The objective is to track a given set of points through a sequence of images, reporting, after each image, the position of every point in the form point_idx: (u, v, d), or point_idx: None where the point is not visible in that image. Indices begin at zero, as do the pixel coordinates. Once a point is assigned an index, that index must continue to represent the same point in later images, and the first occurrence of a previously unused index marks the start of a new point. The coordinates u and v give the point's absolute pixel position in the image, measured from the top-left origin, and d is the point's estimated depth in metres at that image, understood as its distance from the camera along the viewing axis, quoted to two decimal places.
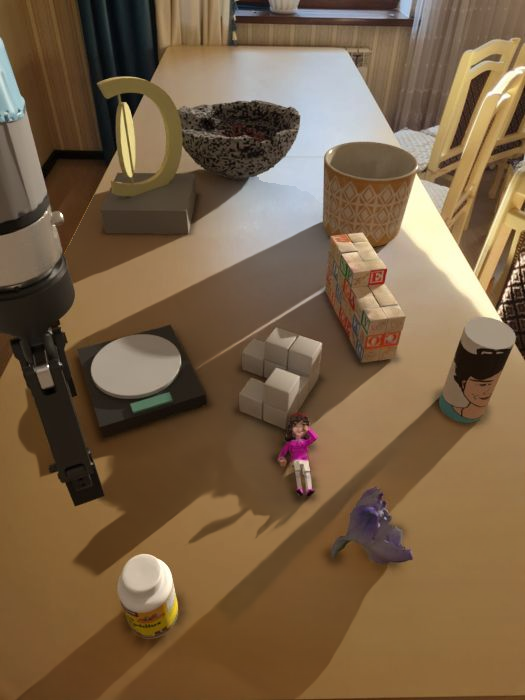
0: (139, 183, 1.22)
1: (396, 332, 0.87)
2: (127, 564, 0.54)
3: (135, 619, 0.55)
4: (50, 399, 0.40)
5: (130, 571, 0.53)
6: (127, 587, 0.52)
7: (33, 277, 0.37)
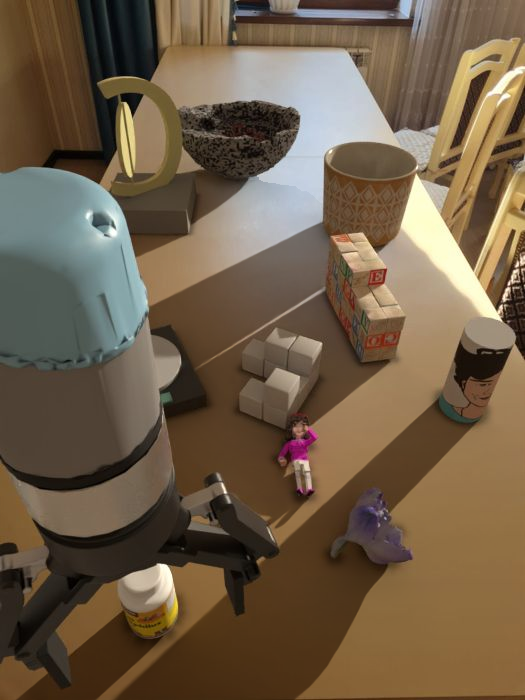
0: (139, 183, 1.22)
1: (396, 332, 0.87)
2: None
3: (135, 619, 0.55)
4: (235, 507, 0.35)
5: None
6: (127, 587, 0.52)
7: None
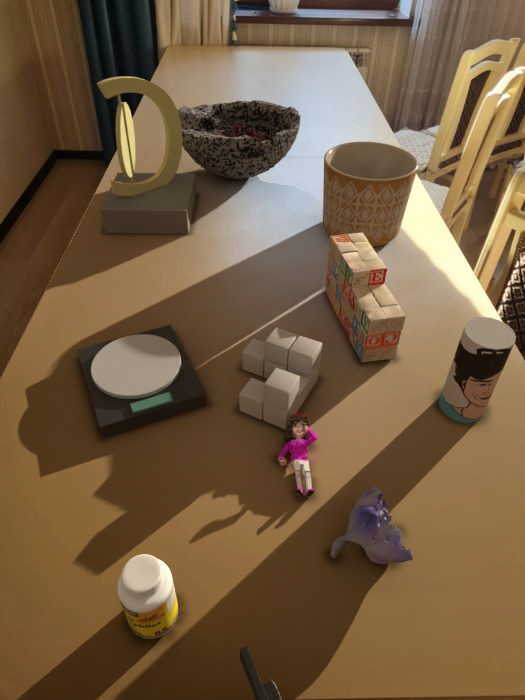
0: (139, 183, 1.22)
1: (396, 332, 0.87)
2: (127, 564, 0.54)
3: (135, 619, 0.55)
4: None
5: (130, 571, 0.53)
6: (127, 587, 0.52)
7: None
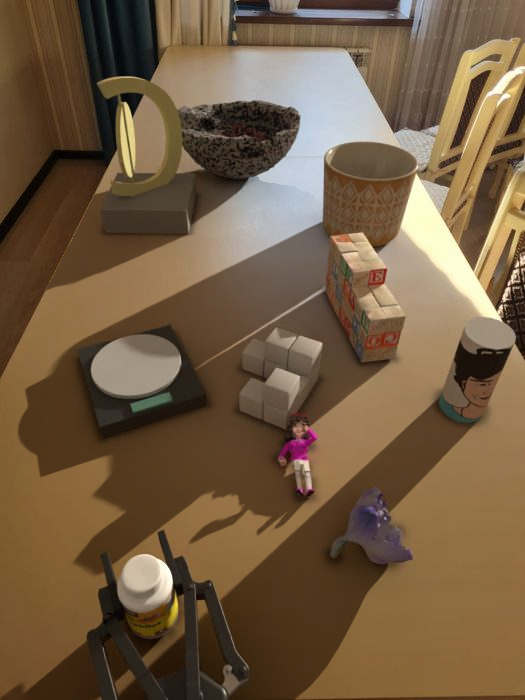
0: (139, 183, 1.22)
1: (396, 332, 0.87)
2: (127, 564, 0.54)
3: (135, 619, 0.55)
4: None
5: (130, 571, 0.53)
6: (127, 587, 0.52)
7: None
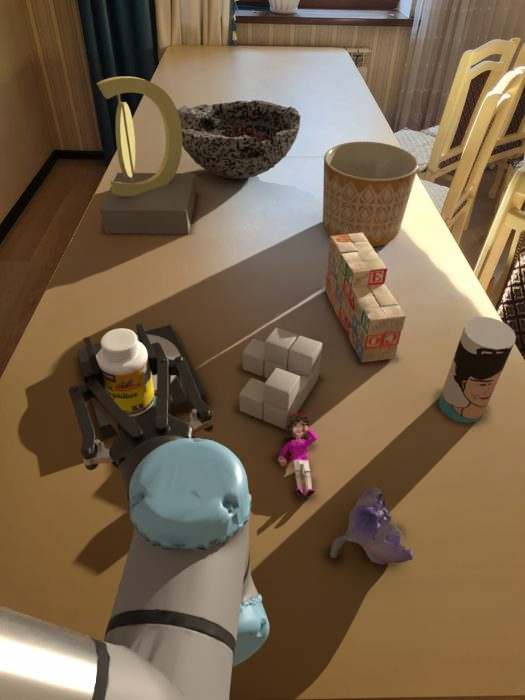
0: (139, 183, 1.22)
1: (396, 332, 0.87)
2: (106, 334, 0.60)
3: (113, 387, 0.61)
4: None
5: (109, 338, 0.59)
6: (105, 348, 0.58)
7: None
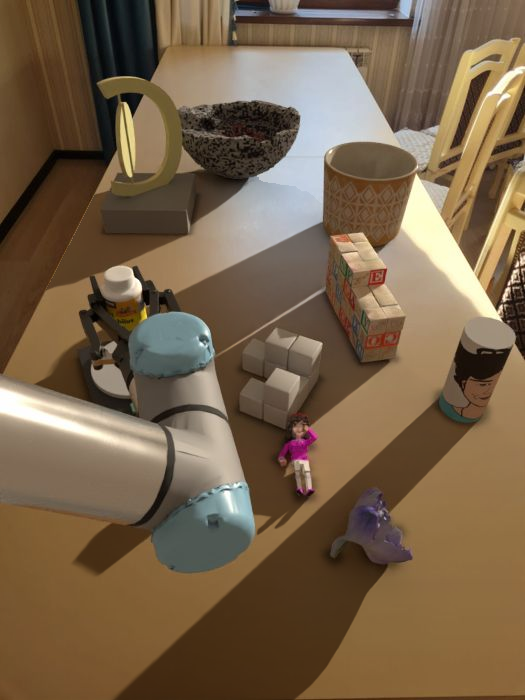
0: (139, 183, 1.22)
1: (396, 332, 0.87)
2: (108, 270, 0.74)
3: (114, 313, 0.75)
4: None
5: (110, 273, 0.74)
6: (108, 279, 0.73)
7: None
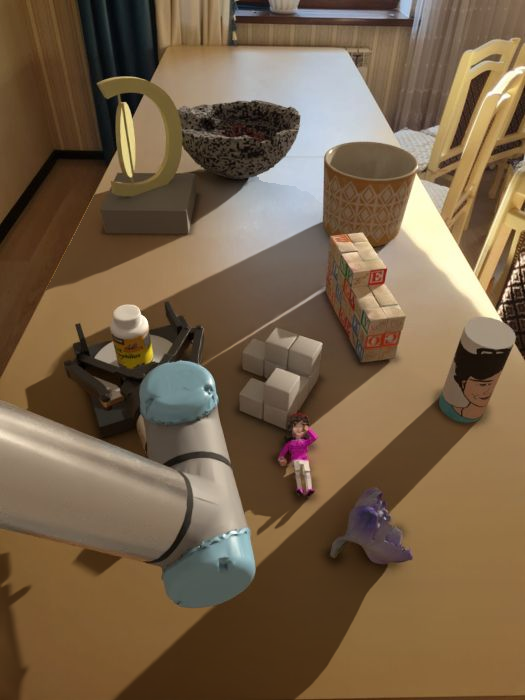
0: (139, 183, 1.22)
1: (396, 332, 0.87)
2: (117, 308, 0.79)
3: (122, 349, 0.80)
4: (95, 392, 0.71)
5: (118, 311, 0.78)
6: (116, 318, 0.77)
7: None
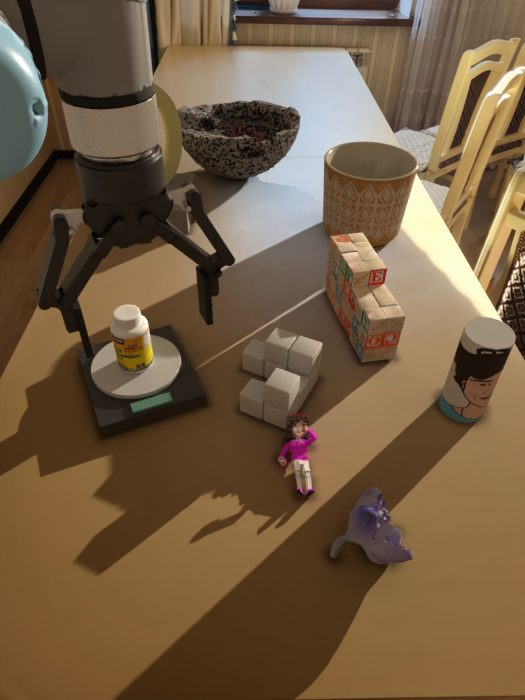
0: None
1: (396, 332, 0.87)
2: (117, 308, 0.79)
3: (122, 349, 0.80)
4: None
5: (118, 311, 0.78)
6: (116, 318, 0.77)
7: None
